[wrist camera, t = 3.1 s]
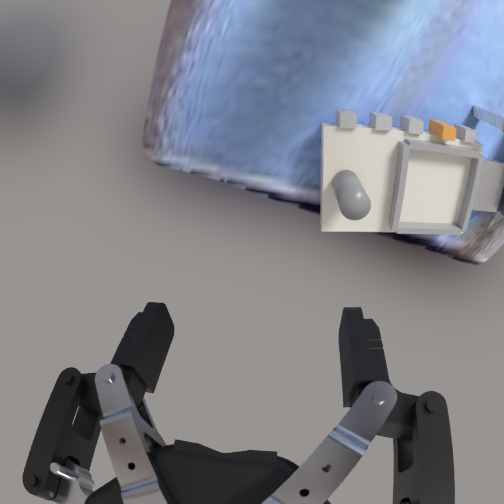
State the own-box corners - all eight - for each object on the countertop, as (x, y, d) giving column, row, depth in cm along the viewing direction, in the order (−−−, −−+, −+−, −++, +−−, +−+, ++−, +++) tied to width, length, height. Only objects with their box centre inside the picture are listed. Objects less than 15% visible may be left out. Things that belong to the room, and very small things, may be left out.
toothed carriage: (319, 222, 28) (325, 260, 23) (320, 109, 22) (330, 121, 17) (456, 226, 26) (481, 259, 21) (475, 128, 19) (512, 147, 14)
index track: (319, 198, 28) (325, 230, 23) (318, 82, 21) (327, 86, 17) (500, 208, 25) (527, 235, 20) (518, 119, 18) (552, 136, 13)
